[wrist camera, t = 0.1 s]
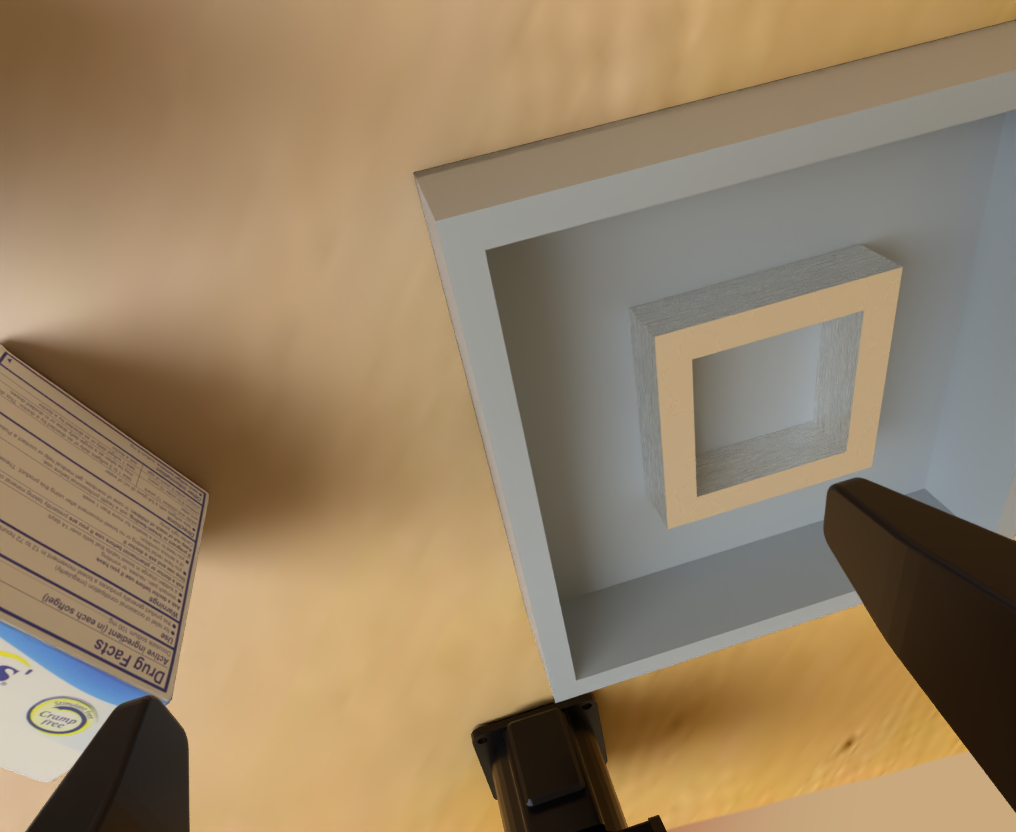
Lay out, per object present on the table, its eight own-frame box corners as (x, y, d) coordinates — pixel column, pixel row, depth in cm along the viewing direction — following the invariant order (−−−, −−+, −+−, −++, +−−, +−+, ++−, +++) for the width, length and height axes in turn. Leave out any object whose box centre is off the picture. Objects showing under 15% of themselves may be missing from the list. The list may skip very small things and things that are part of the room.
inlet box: (931, 490, 33) (1007, 556, 30) (527, 616, 32) (555, 703, 28) (1038, 14, 22) (1184, 26, 18) (413, 172, 20) (435, 221, 17)
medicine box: (-106, 421, 21) (-324, 663, 14) (0, 332, 20) (-170, 538, 13) (122, 558, 25) (47, 795, 18) (216, 489, 24) (175, 707, 17)
